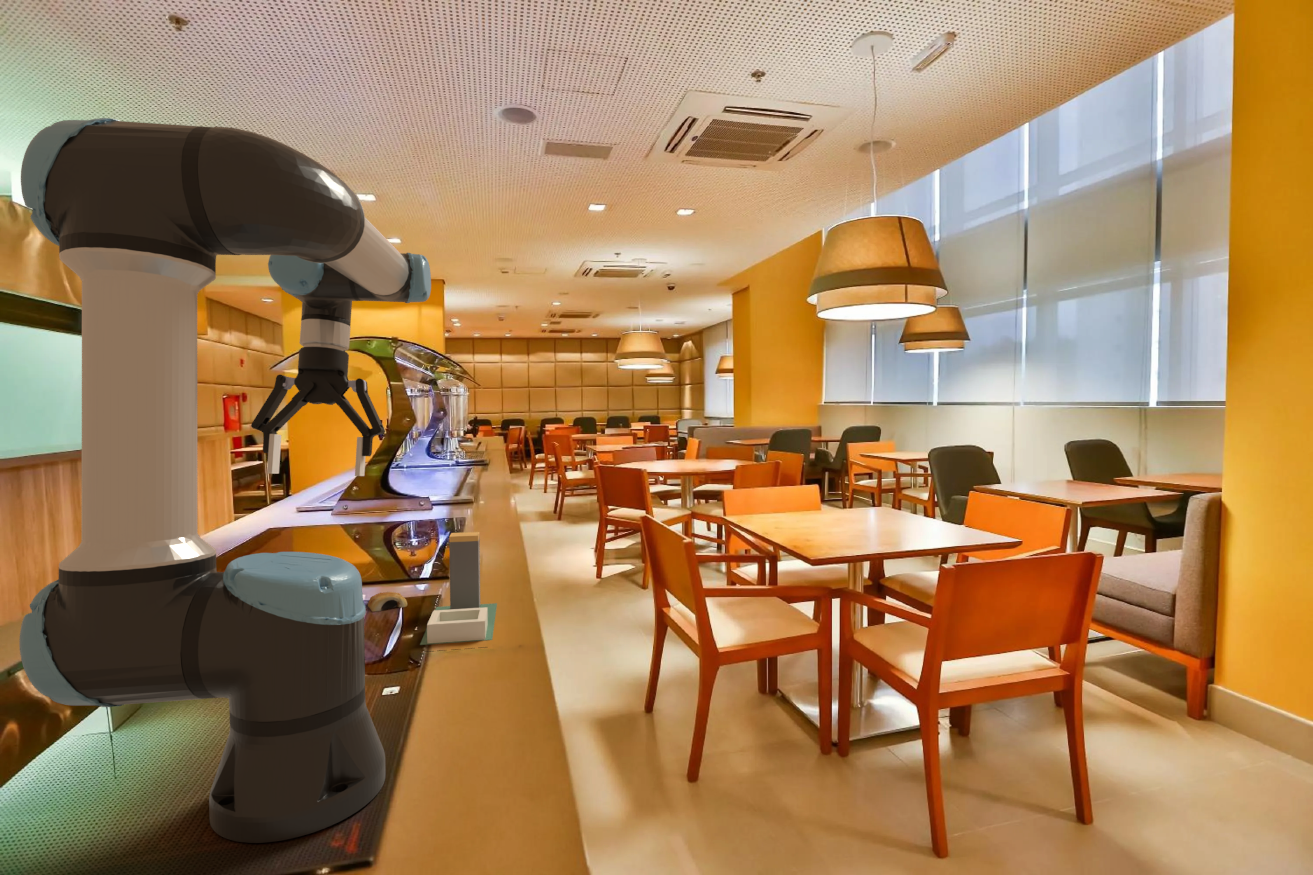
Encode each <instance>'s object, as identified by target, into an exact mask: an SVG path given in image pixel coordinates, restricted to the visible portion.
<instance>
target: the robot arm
mask: <svg viewBox="0 0 1313 875" xmlns="http://www.w3.org/2000/svg"><path fill="white" fill-rule="evenodd" d="M20 186H21V187H20V188H21V194H22V195H21V196H22V198H23V201H24V205H25V206H26V208H28V209H32V213H31V214H30V219H31V221H32V223H33V224H34V226H35V227H36V228H37V230H38V231H39V232H40V233H41V235H43V236H44V238H46V239H47V240H49V242H51V243H53V244H54V245H56V246H58V250H59V251H58V252H59V254H58V257H59V260H60V261H61V263H63V264H64V265H65V266H66V267H67V268H68V269H70V270H71V271H72V272H73V273H74V274H76V275H77V277H79V279H80V281H81V542H80V543H79V545H78V547H76V548H75V549H74V550H73V551H72V552H70V553H69V554H68V555H67V556H65V558H63V559H62V561H60V562H59V564H58V579H56V580H54V581H52V582H50V583H49V584H47V585H45V586H44V587H43V588H42V589H40V590H39V592H37V593H36V595H35V596H34V597H33V599H32V600H31V602H30V604H29V608H30V610H31V612H30V613H27V614H25V615H24V616H23V619H22V621H21V626H20V632H19V640H18V641H19V654H20V660H21V663H22V667H23V670H24V672H25V675H26V677H27V678H28V680H29V682H30V683H31V685H32V686H33V687H34V688H35V689H36V690H37V692H39V693H40V694H41V695H43V696H45V697H48V698H49V699H51V701H53V702H54V703H57V704H61V705H66V706H97V707H101V708H111V707H112V708H113V707H121V706H124V705H131V704H133V705H135V704H147V703H148V704H149V703H150V704H151V703H163V702H177V701H189V700H191V701H192V700H194V701H195V700H207V699H220V698H221V699H223V698H225V699H228V709H229V710H228V711H229V712H228V714H229V732H228V737H227V740H226V743H225V746H224V749H223V752H222V755H221V757H220V761H219V764H218V767H217V770H216V772H215V776H214V779H213V782H212V785H211V788H210V791H209V796H208V798H209V799H208V808H209V810H208V811H209V812H208V814H209V825H210V827H211V829H212V830H213V831H214V832H215V833H216V834H217V835H218V836H220V837H223V838H224V839H227V840H228V841H229V840H230V841H232V842H233V841H234V842H238V843H239V842H240V843H246V844H247V843H249V844H252V843H253V844H254V843H255V844H258V843H259V844H260V843H262V844H263V843H272V842H280V841H286V840H292V839H295V838H298V837H303V836H305V835H310V834H313V833H317V832H319V831H321V830H323V829H326V828H328V827H331V826H333V825H336V824H337V823H340V822H342V821H343V820H346V819H348V817H351V816H352V815H354V814H355V813H357V812H359V811H360V810H361V809H363V808H364V807H366V805H368V804H369V803H370V802H371V801H372V800H374V798H375V797H376V796H377V795H378V793H379V792H380V791H381V790H382V788H383V786H384V783H385V780H386V754H385V750H384V746H383V744H382V741H381V739H380V737H379V734H378V731H377V729H376V727H375V725H374V722H373V719H372V717H371V714H370V712H369V709H368V706H367V705H366V667H365V666H366V662H365V660H366V658H365V657H366V656H365V651H366V650H365V646H366V645H365V615H366V611H367V610H366V604H365V602H364V596H363V582H362V581H363V580H362V576H361V573H360V572H359V569H357V566H355V565H354V564H352V563H350V562H349V561H347V560H345V559H343V558H340V557H337V556H332V555H329V554H323V553H317V552H316V553H315V552H308V551H307V552H305V551H278V552H273V553H272V552H260V553H252V554H247V555H243V556H239V557H237V558H235V559H233V560H231V561H230V562H229V563H228V564H227V566H226V568H225V570H224V571H217V549H216V548H215V547H213V546H212V545H211V544H209V543H208V542H206V541H205V540H204V539H203V538H201V537H200V535H199V531H198V528H199V527H198V524H199V523H198V294H199V292H200V291H201V290H203V289H204V288H206V287H207V286H208V285H210V284H211V283H212V282H214V281H215V280H216V277H217V274H216V273H217V272H216V271H217V270H216V268H217V267H216V266H217V264H216V263H217V262H216V261H217V256H269V258H268V263H267V266H268V267H267V268H268V273H269V274H270V277H271V279H272V280H273V281H274V282H275V283H276V284H277V286H279V288H281V290H282V291H284V292H285V293H286V294H288V295H291V296H292V297H293V298H295V299H297V300H298V301H301V318H300V332H299V345H301V346H302V347H301V348H300V349H298V362H297V363H298V364H297V375H296V377H289V376H287V375H283V374H277V375H276V377H275V380H274V387H273V389H272V390H271V392H270V393H269V395H268V396H267V399H266V400H264V401H265V402H264V403H263V405H262V406H261V408H260V410H259V411H258V413H257V414H256V416H255V417H254V419H253V420H252V422H251V425H250V427H251V428H252V429H254V430H257V431H259V432H261V433H262V434H263V439H262V440H263V442H262V451H263V453H264V454H267V468H266V474H272V475H273V474H274V475H275V474H280V463H281V462H280V461H281V448H282V445H281V444H282V435H281V434H278V432H279V431H280V430H281V429H282V428H283V427H284V425H286V424H287V423H288V421H291V419H292V418H293V417H294V416H295V415H296V414H297V413H298V412H299V411H300V410H301V409H302V408H303V407H305V406H307V405H308V403H309V404H312V405H322V404H325V405H329V406H333V405H334V404H336V405H337V406H338V407H339V408H340V409H341V410H342V412H343V413H344V414H345V416H346V417H347V418H348V419H349V420H350V422H351V423H352V424H353V425H354V426H355V428H356V429H357V430H358V431H359V433H360V434H361V436H357V437H356V447H355V448H356V452H355V467H354V468H355V471H354V476H355V477H365V472H366V457H371V456H372V454H373V440H374V437H376V436H379V435H383V434H385V429H386V428H385V427H384V425H383V423H382V421H381V419H380V416H379V415H378V412H377V409H376V408H375V406H374V403H373V401H372V399H371V397H370V395H369V391H368V382H367V381H366V380H364V379H362V378H361V377H359V378H357V379H355V380H353V379H351V380H349V378H348V377H349V376H348V375H349V361H350V360H349V357H350V355H349V353H348V352H346V351H348V350H349V349H350V339H351V322H352V321H351V320H352V307H353V306H352V305H353V302H364V301H365V302H389V303H390V302H391V303H404V304H410V303H423V302H427V301H428V300H429V298H430V296H431V291H432V275H431V267H430V263H429V260H428V258H427V257H426V256H425V255H423V254H416V253H410V252H406V253H403V252H400V251H399V250H398V248H396V247H395V246H394V245H393V244H392V243H391V242H390V241H389V240H388V239H387V237H385V236H384V235H383V234H382V233H381V231H379V229H378V228H376V227H375V225H374V224H373V223H371V221H369V219H367V217H366V216H365V215H366V214H365V210H364V207H363V205H362V203H361V201H360V200H359V198H358V196H357V194H356V193H355V192H354V191H353V190H352V189H351V188H350V187H349V186H348V184H347V183H346V182H344V180H342V179H341V178H340V177H339V176H337V175H336V174H335V173H334V172H333V171H331V170H330V169H329V168H328V167H325V165H323V164H322V163H319V162H318V161H316V160H315V159H313V158H311V157H309V156H308V155H306V154H304V153H302V152H301V151H299V150H297V149H295V148H293V147H291V146H289V145H288V144H285V143H283V142H280V141H278V140H276V139H273V138H271V137H268V136H265V135H262V134H260V133H257V132H254V131H249V130H245V129H240V128H237V127H236V128H235V127H228V126H227V127H226V126H202V125H198V126H197V125H183V124H170V123H165V124H164V123H154V122H153V123H152V122H141V121H140V122H139V121H138V122H137V121H125V120H124V121H122V120H119V119H117V118H109V117H101V118H100V117H99V118H93V119H66V120H60V121H56V122H54V123H52V124H51V125H50V126H48V125H47V126H46V127H44V128H42V129H41V130H39V131H38V132H37V134H36V135H34V137H33V138H32V139H31V141H30V142H29V144H28V145H27V148H26V150H25V152H24V154H23V158H22V163H21V167H20ZM293 386H295V387H296V389H297V390H298V391H297V392H296V394H294V395H293V397H292V398H291V400H290V401H289V402H288V403H287V404H286V405H285V406H284V407H283V408H282V409H281V410H280V411H279V412H278V413H277V414H276V415H275V416H274V414H275V413H276V412H277V410H278V408H279V407H280V405H281V403H282V402H283V399H285V397H286V396H287V393H288V390H291V389H292V388H293ZM350 388H351V390H352V392H354V393H356V396H357V398H358V400H359V402H360V404H361V407H362V408H363V411H364V413H365V416H366V417H367V419H368V421H369V423H370V424H369V425H370V426H371V427H369V425H368V424H367V423H366V422H365V420H364V418H362V417H361V415H360V414H359V413H358V412H357V410H356V409H355V408H354V407H353V405H352V404H351V403H350V401H349V400H348V399H347V398H346V396H345V394H346V392H348V390H349V389H350Z"/></svg>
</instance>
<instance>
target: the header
mask: <svg viewBox="0 0 1313 875" xmlns="http://www.w3.org/2000/svg"><path fill="white" fill-rule="evenodd" d="M487 626H488V609H487V607H483V608H467V609H450V610H435V609H434V610H432V613H431V616H430V618H429V620H428V621H427V624H426V629H427V644H428V645H430V644H429V643H442V644H444V643H443V642H457V641H471V640H485V638H486V632H487ZM485 641H486V640H485ZM471 642H472V641H471ZM457 643H458V642H457Z"/></svg>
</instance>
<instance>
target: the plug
mask: <svg viewBox="0 0 1313 875" xmlns="http://www.w3.org/2000/svg"><path fill="white" fill-rule="evenodd" d="M448 538H449V539H448V540H449V600H450V601H449V603H450V604H449V606H450V609H467V608H480V604H481V566H480V565H481V560H480V559H481V555H480V554H481V551H480V550H481V548H480V546H481V545H480V540H481V539H480V531H469V532H468V531H465V532H464V531H463V532H451V533H450V535H449V537H448Z"/></svg>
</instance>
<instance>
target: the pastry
mask: <svg viewBox="0 0 1313 875" xmlns="http://www.w3.org/2000/svg"><path fill="white" fill-rule="evenodd" d="M407 606H408V601H407V599H406V598H405V597H404V596H403V595H402V594H401V592H394V591H385V592H379V593H376V594H374V595H372V596H371V597H370V598H369V600H368V602H367V607H368V608H369V610H370V611H371V612H380V611H381V612H382V611H386V610H390V609H393V608H396V607H397V608H406V607H407Z"/></svg>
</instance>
